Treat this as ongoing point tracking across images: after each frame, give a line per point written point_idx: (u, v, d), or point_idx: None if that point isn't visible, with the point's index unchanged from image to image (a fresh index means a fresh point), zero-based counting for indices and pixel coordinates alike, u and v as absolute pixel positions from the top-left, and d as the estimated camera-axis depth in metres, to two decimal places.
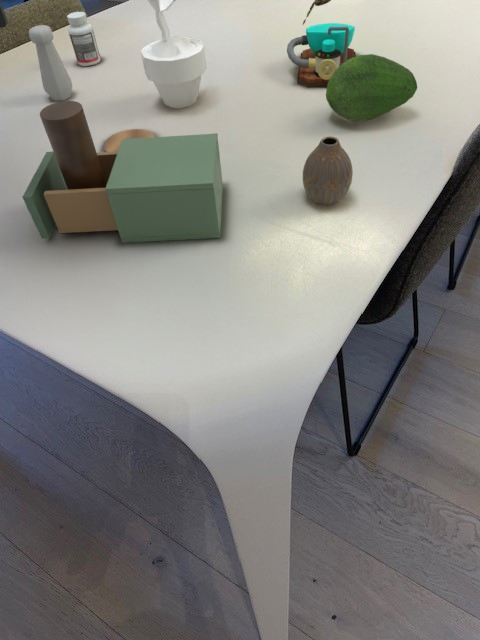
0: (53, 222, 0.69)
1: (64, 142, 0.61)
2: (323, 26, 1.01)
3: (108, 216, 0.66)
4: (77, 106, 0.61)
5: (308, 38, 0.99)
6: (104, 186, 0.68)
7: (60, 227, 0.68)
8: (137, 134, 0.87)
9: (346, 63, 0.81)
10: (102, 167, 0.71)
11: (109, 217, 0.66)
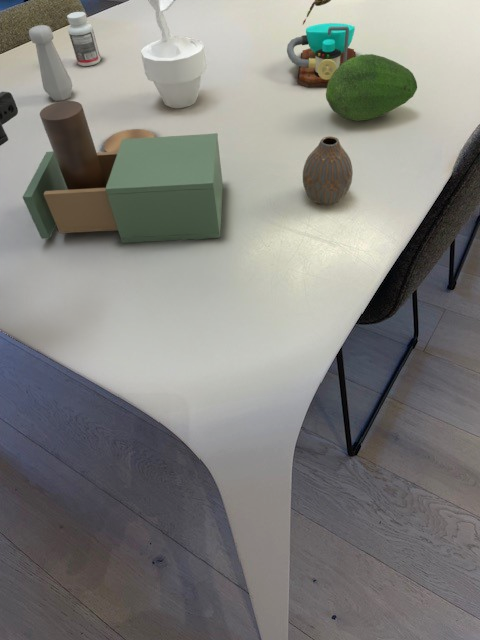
0: (53, 222, 0.69)
1: (64, 142, 0.61)
2: (323, 26, 1.01)
3: (108, 216, 0.66)
4: (77, 106, 0.61)
5: (308, 38, 0.99)
6: (104, 186, 0.68)
7: (60, 227, 0.68)
8: (137, 134, 0.87)
9: (346, 63, 0.81)
10: (102, 167, 0.71)
11: (109, 217, 0.66)
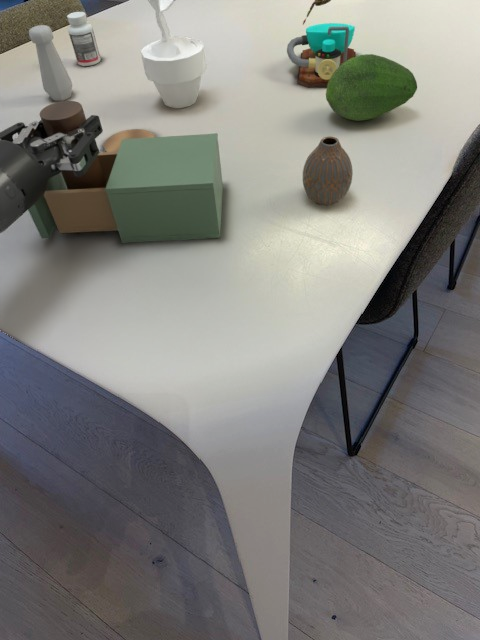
0: (53, 222, 0.69)
1: None
2: (323, 26, 1.01)
3: (108, 216, 0.66)
4: (77, 106, 0.61)
5: (308, 38, 0.99)
6: (104, 186, 0.68)
7: (60, 227, 0.68)
8: (137, 134, 0.87)
9: (346, 63, 0.81)
10: (102, 167, 0.71)
11: (109, 217, 0.66)
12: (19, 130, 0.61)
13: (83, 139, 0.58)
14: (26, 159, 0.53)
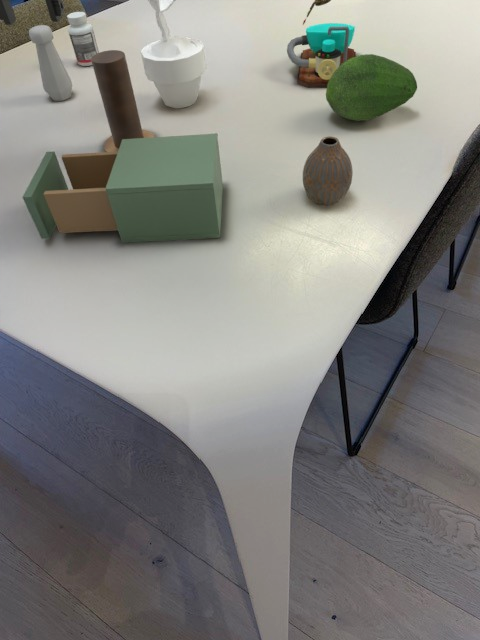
0: (53, 222, 0.69)
1: (110, 82, 0.76)
2: (323, 26, 1.01)
3: (108, 216, 0.66)
4: (120, 53, 0.76)
5: (308, 38, 0.99)
6: (139, 124, 0.83)
7: (60, 227, 0.68)
8: None
9: (346, 63, 0.81)
10: (102, 167, 0.71)
11: (109, 217, 0.66)
12: None
13: None
14: None
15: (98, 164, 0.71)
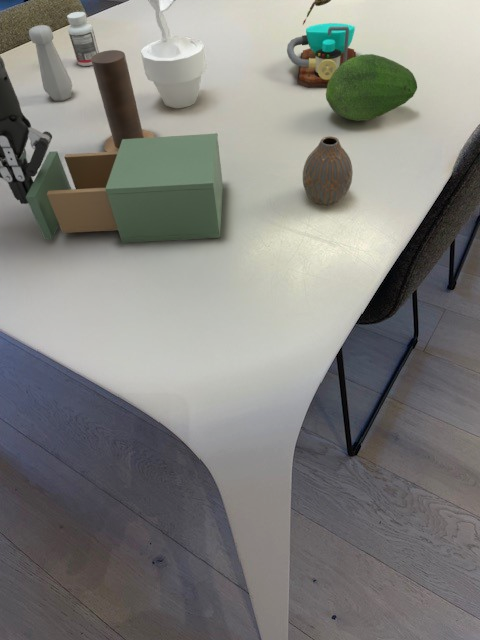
0: (56, 222, 0.69)
1: (110, 82, 0.76)
2: (323, 26, 1.01)
3: (111, 216, 0.66)
4: (120, 53, 0.76)
5: (308, 38, 0.99)
6: (139, 124, 0.83)
7: (63, 227, 0.68)
8: None
9: (346, 63, 0.81)
10: (105, 167, 0.71)
11: (112, 217, 0.66)
12: None
13: None
14: None
15: (101, 164, 0.71)
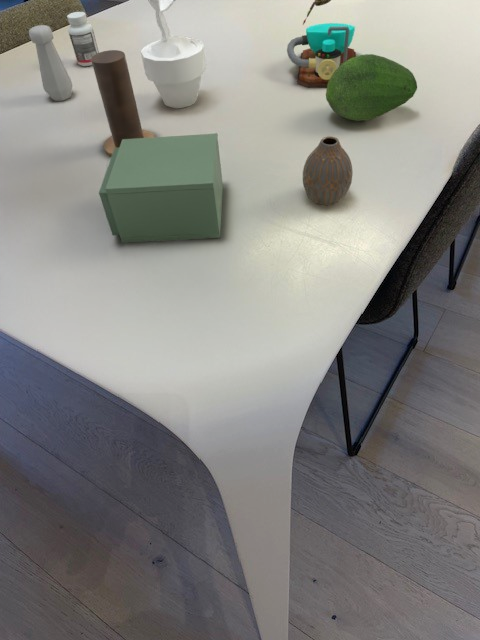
0: None
1: (110, 82, 0.76)
2: (323, 26, 1.01)
3: None
4: (120, 53, 0.76)
5: (308, 38, 0.99)
6: (139, 124, 0.83)
7: None
8: None
9: (346, 63, 0.81)
10: None
11: None
12: None
13: None
14: None
15: None
